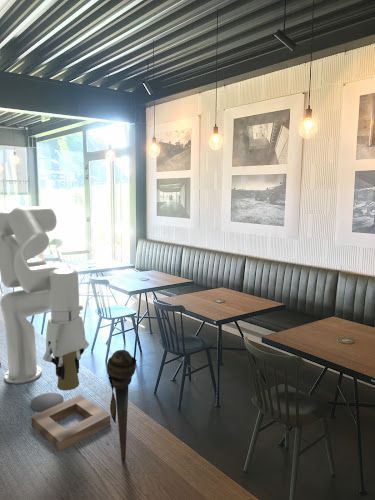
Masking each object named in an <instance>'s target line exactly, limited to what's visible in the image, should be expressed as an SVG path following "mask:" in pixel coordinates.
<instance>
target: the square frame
mask: <svg viewBox="0 0 375 500" xmlns="http://www.w3.org/2000/svg"><path fill="white" fill-rule="evenodd" d="M75 414H78V415H79V416H81V417H82V418H83V420H81V421H79V422H77V423H75V424H73V425H71V426H69V427H67V428H63V427H62V426H61V425H60V424H59V423H58V422H60V421H62V420H64V419H66V418H68V417H70V416H72V415H75ZM30 421H31V427H32V428H33V429H35V430H36V431H37V433H39V434H40V435H41V436H42V437H43V438H44V439H45V440H47V441H48V442H49V443H50V444H51V445H52V446H53V447H54V448H56V449H57V450H58V451H59V452H63V451H64V450H66V449H68V448H71V447H72V446H73V445H74V446H75V444H78V443H79V442H81V441H83V440H84V439H86V438H88V437H90V436H92V435H94V434H95V433H97V432H100V431H101V430H104V429H105V428H107V427H108V426H110V425H111V414H109V413H108V412H106V411H104V410H103V409H102V408H100V407H98V406H97V405H95V404H94V403H92V402H91V401H90V400H88V399H87V398H86V397H84V396H82V395H81V394H78V395H75V396H74V397H72V398H70V399H67V400H65V401H63V403H60V404H58V405H56V406H54V407H52V408H49V409H47V410H45V411H43V412H38V413H36V414H34V415H31V416H30Z"/></svg>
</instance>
